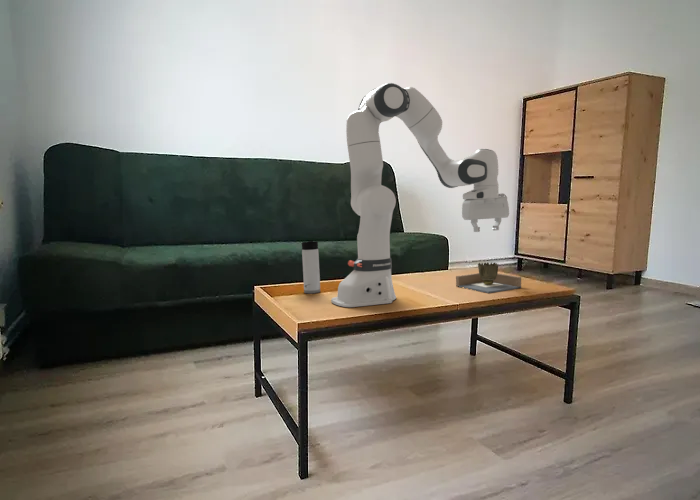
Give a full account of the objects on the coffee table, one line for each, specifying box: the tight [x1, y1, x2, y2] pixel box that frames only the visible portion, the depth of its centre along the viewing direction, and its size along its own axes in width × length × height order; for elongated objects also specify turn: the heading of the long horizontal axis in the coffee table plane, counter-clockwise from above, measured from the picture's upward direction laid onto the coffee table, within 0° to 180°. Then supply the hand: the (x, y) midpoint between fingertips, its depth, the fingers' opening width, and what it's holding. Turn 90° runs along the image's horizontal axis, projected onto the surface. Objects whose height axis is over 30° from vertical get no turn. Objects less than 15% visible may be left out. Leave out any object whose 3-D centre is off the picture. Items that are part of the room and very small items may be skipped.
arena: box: [455, 272, 522, 294], centre depth 171 cm, size 16×17×4 cm
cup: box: [477, 262, 499, 285], centre depth 172 cm, size 7×7×8 cm
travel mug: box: [301, 240, 321, 295], centre depth 175 cm, size 6×7×20 cm
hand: (486, 231), depth 171 cm, fingers open, 8 cm apart
